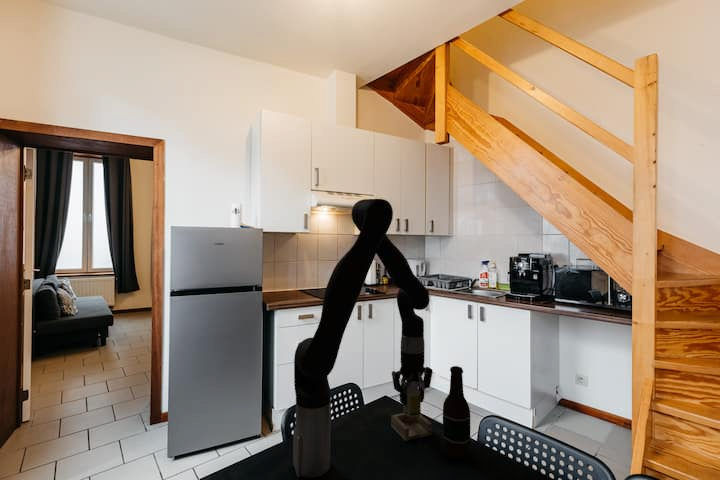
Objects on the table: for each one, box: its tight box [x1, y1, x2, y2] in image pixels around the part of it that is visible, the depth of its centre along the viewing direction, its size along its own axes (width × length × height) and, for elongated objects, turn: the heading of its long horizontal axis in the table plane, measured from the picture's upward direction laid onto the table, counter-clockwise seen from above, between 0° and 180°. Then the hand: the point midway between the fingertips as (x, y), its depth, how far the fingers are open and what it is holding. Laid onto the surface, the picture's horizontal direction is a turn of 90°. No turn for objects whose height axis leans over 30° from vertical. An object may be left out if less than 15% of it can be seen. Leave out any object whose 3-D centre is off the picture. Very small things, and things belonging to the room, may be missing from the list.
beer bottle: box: [442, 365, 471, 460], centre depth 100 cm, size 8×8×24 cm
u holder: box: [390, 412, 433, 442], centre depth 112 cm, size 9×9×4 cm
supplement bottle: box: [402, 382, 422, 417], centre depth 111 cm, size 5×5×10 cm
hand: (412, 402), depth 111 cm, fingers closed on supplement bottle, 5 cm apart
